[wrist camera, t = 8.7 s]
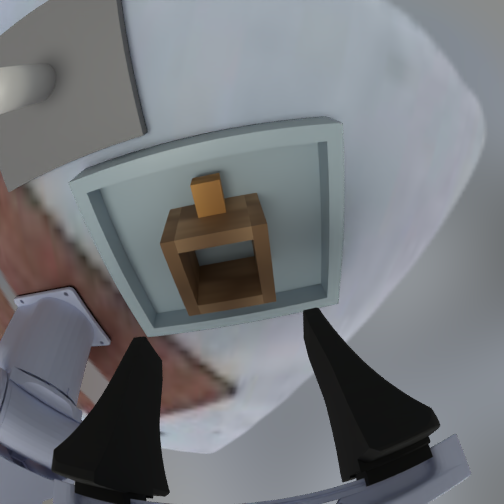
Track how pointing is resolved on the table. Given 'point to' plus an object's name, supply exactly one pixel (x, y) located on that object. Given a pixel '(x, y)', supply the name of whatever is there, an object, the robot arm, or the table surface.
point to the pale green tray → (233, 184)
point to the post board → (65, 87)
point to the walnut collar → (216, 234)
